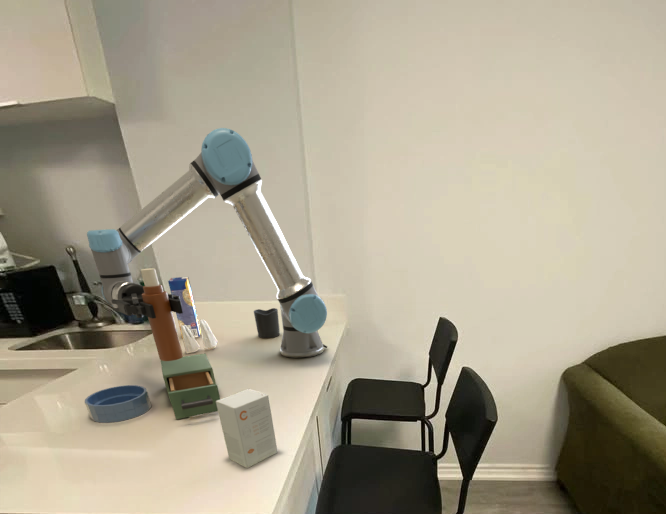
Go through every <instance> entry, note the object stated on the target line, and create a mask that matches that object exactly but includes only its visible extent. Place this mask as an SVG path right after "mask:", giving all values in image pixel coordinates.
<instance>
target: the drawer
mask: <svg viewBox="0 0 666 514" xmlns="http://www.w3.org/2000/svg"><path fill="white" fill-rule="evenodd" d="M169 383H170V388H171V392H167V394H168V393H169V396H168V398H169V397H170V399H169V401H170V400H171V403H170V405H171V407H172V410H173V413H174V418H175V420H180V419H185V418H186V419H187V418H190V417H197V416H202V415H206V414H212V413H216V412H217V413H218V409H217V405H216V401H217V400H220V399H221V397H220V391H219V388H218V387H219V386H218V384H217V383H216V384H213V381H212V379H211V377H210V375H209V372H208V371H205V372H199V373H192V374H186V375H180V376H174V377H169Z"/></svg>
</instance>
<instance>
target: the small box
mask: <svg viewBox="0 0 666 514" xmlns="http://www.w3.org/2000/svg"><path fill="white" fill-rule="evenodd" d="M216 405H217V409H218V411H217V413H218V417H219V421H220V426H221V429H222V434H223V439H224V442H225V446H226V450H227V455H228V459H229V460H230V461H233V462H234V463H236V464H238V465H240V466H242V467H244V468H246V469H248V468H251V467H252V466H254V465H256V464H258V463H260V462H262V461H264V460H265V459H268V458H269V457H271V456H273V455H275V454H277V453H278V447H277V446H278V445H277V439H276V434H275V429H274V422H273V416H272V410H271V404H270V397H269V395H268V394H267V393H265V392H262V391H258V390H255V389H251V388H246V389H244V390H242V391H239V392H236V393H233V394H231V395H229V396H226V397H223V398H220V400H217V401H216Z"/></svg>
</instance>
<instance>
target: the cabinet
mask: <svg viewBox="0 0 666 514" xmlns="http://www.w3.org/2000/svg"><path fill="white" fill-rule="evenodd" d="M160 366H161V372H162V378H163V382H164V385H165V388H166V392H167V396H168V399H169V402H170V404H171V400H170V397H169V393H168V392H171V388H170V383H169V377H174V376H180V375H186V374H192V373H199V372H205V371H208V372H209V375H210V377H211V379H212V381H213V384H217V383H216V378H215V375H214V374H215V373H214V369H213V367H212V364H211V362H210V359H209V357H208V356H207V354H206V352H205V353H204V352H203V353H198V354H192V355H185V356H184V355H183V357H182V358H180V359H178V360H173V361H161V360H160Z"/></svg>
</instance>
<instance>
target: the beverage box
mask: <svg viewBox="0 0 666 514" xmlns="http://www.w3.org/2000/svg"><path fill="white" fill-rule="evenodd" d="M167 283H168V286H169V291H170V294H172V295H176V296H180V301H181V305H182V311H183V313H182V314H179V313H176V312H175V314H176V318H177V322H178V323H177V324H178V327H179V331H180V334H181V338H182V340H183V336H182V331H181V326H182V325H183V326H184V325H186V326H187V327H188V328H189V330H190V331H191V333H192V335H193V336H194V338H200V337H201V330H199V325H200V323H199V324H198V321H199V318H198V319H197V316H198V313H197V314H196V312H197V308H196V304H195V305H194V303H195V300H194V295H193V291H192V286H191V281H190V277H189V276H181V277H180V276H179V277H170V278H169V280H167ZM195 308H196V309H195ZM184 328H185V327H184Z"/></svg>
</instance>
